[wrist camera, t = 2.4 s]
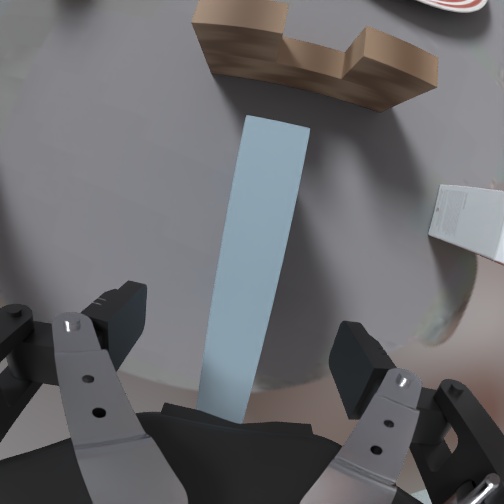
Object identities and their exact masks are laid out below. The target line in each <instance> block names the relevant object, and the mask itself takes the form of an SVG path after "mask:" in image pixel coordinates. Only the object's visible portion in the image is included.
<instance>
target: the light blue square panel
mask: <svg viewBox="0 0 504 504" xmlns="http://www.w3.org/2000/svg"><path fill="white" fill-rule="evenodd" d="M309 134H310V128H306V127H302V126H298V125H294V124H289V123H285V122H280V121H275V120H270V119H265V118H260V117H255V116H249V115H246V119H245V124H244V129H243V133H242V138H241V143H240V148H239V153H238V158H237V163H236V168H235V173H234V178H233V184H232V189H231V194H230V200H229V205H228V210H227V216H226V221H225V227H224V232H223V238H222V244H221V249H220V255H219V261H218V267H217V273H216V279H215V285H214V291H213V297H212V304H211V310H210V316H209V323H208V329H207V336H206V343H205V349H204V356H203V363H202V370H201V377H200V385H199V392H198V400H197V407H196V410H201V411H203V412H206V413H209V414H211V415H214V416H217V417H220V418H222V419H225V420H228V421H231V422H234V423H239V424H242V422H243V418H244V415H245V411H246V407H247V403H248V400H249V396H250V393H251V389H252V385H253V381H254V377H255V374H256V370H257V366H258V362H259V358H260V354H261V350H262V346H263V342H264V338H265V334H266V330H267V326H268V322H269V318H270V314H271V310H272V305H273V301H274V297H275V293H276V289H277V284H278V280H279V276H280V271H281V267H282V263H283V258H284V254H285V249H286V245H287V240H288V236H289V231H290V227H291V222H292V217H293V213H294V208H295V203H296V199H297V194H298V189H299V184H300V179H301V174H302V169H303V164H304V159H305V154H306V149H307V144H308V139H309Z"/></svg>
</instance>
